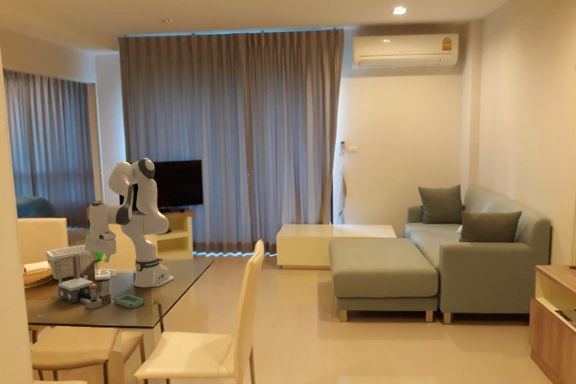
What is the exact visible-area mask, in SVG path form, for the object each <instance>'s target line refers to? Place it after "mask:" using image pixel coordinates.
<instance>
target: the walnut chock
mask: <svg viewBox="0 0 576 384" xmlns="http://www.w3.org/2000/svg"><path fill="white" fill-rule="evenodd" d="M111 295H112V294H111V293H109V292H102V293H99V294H98V299H101V300H102V305H103V304H105V305H108V304H110V303H112V297H111Z"/></svg>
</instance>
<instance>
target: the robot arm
mask: <svg viewBox="0 0 576 384" xmlns="http://www.w3.org/2000/svg"><path fill="white" fill-rule="evenodd" d="M155 172H156V166H155V163H154V161H152V159H150V158H148V157H144V158H141V159H139V160H137V161H135V162H132V163H131V164H130V163H129V162H126V161H120V162H118V163H117V164H116V165H115V166H114V168H113V170H112V171H111V173H110V176H109V178H108V181H107V182H108V187H109V188H110V190H111V191H112V192H113V193H115V194H117V195H120V196H123V197H124V198H123V203H122V204H120V205H119V204H118V205H111V204H110V205H108V204H107V201H105V200H95V201H92V202H90V204H89V208H88V220H89V224H90V225H89V230H90V232H88V231H87V232H88V233H87V232H86V233H87V235H86V234H85V241H84V245H85V249H86V250H88V251H91V255H92V259H93V260H97V256H96V252H97V253H102V254H104V257H105V258H104V263H106V264H107V263H110V258H111V256H112V255H115V254H116V253H117V241H116V237H117V234H116V233H115V232H113V231H112V230H110V226H109V225H119V226H120V230H121V232H122V234H124V235H125V236H127V237H128V238H129V239H130V241H131V242H132V243H133V246H134V249H135V278H134V284H133V285H134V286H135V287H139V288H152V287H153V288H155V287H156V288H157V287H160V286H162V285H165V284H167V283H169V282H171V281H173V280H175V277H174V276H173V275H171V274H170V271H169V269H168V267H166V266H165V265H163V264H161V263H162V262H163V260H164V258H162V257H158V256H157V245H156V243H155V242H153V241H152V240H149V239H147V237H145V236H151V235H152V236H154V235H156V236H157V235H161V234H166V233H167V231H168V230H169V227H170V222H169V219H168V218H167V217H166V216H165V215H163V214H162V213H161V212H160V211H159V208H158V187H157V181H156V180H155V179H154V178H155V175H156V174H155ZM136 184H137V186H138V189H137V194H136V208H137V210H139V212H141V213H143V215H141V214H140V215H137V214H136V215H133V205H134V199H135V198H134V197H135V190H134V189H135V188H134V185H136ZM160 262H161V263H160Z"/></svg>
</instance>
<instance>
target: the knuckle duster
mask: <svg viewBox="0 0 576 384" xmlns="http://www.w3.org/2000/svg"><path fill="white" fill-rule="evenodd" d="M116 276H117V269H114V268H112V269H111V268H102V269H95V282H96V281H105V280H106V281H108V280H111V278H112V277H116ZM82 278H83V279H86V280H88V277H87V275H85V276H82Z"/></svg>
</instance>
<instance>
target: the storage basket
mask: <svg viewBox="0 0 576 384" xmlns="http://www.w3.org/2000/svg"><path fill="white" fill-rule="evenodd" d="M75 254H79V256H80V270H81V273H82V272H83V271H84V270H85V269H86V268H87V266H88V265H89V264H90V263H91V262H92V261H93V259H92V255H91V251H88V250H86V249H85V244H82V245H81V244H80V245H75V246H69V247H63V248H62V247H61V248H55V249H49V250H46V251H45V257H46V259H47V264H48V263H49V264H50V266H51V270H52V275H53V277H52V278H53V279H55V280H59V275H58V261H57V259H58V258H62V257H66V256H71V255H75ZM60 261H61V276H62V279H66V278H71V277H74V273H73V258H68V259H64V260H60ZM49 264H48V265H49Z"/></svg>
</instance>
